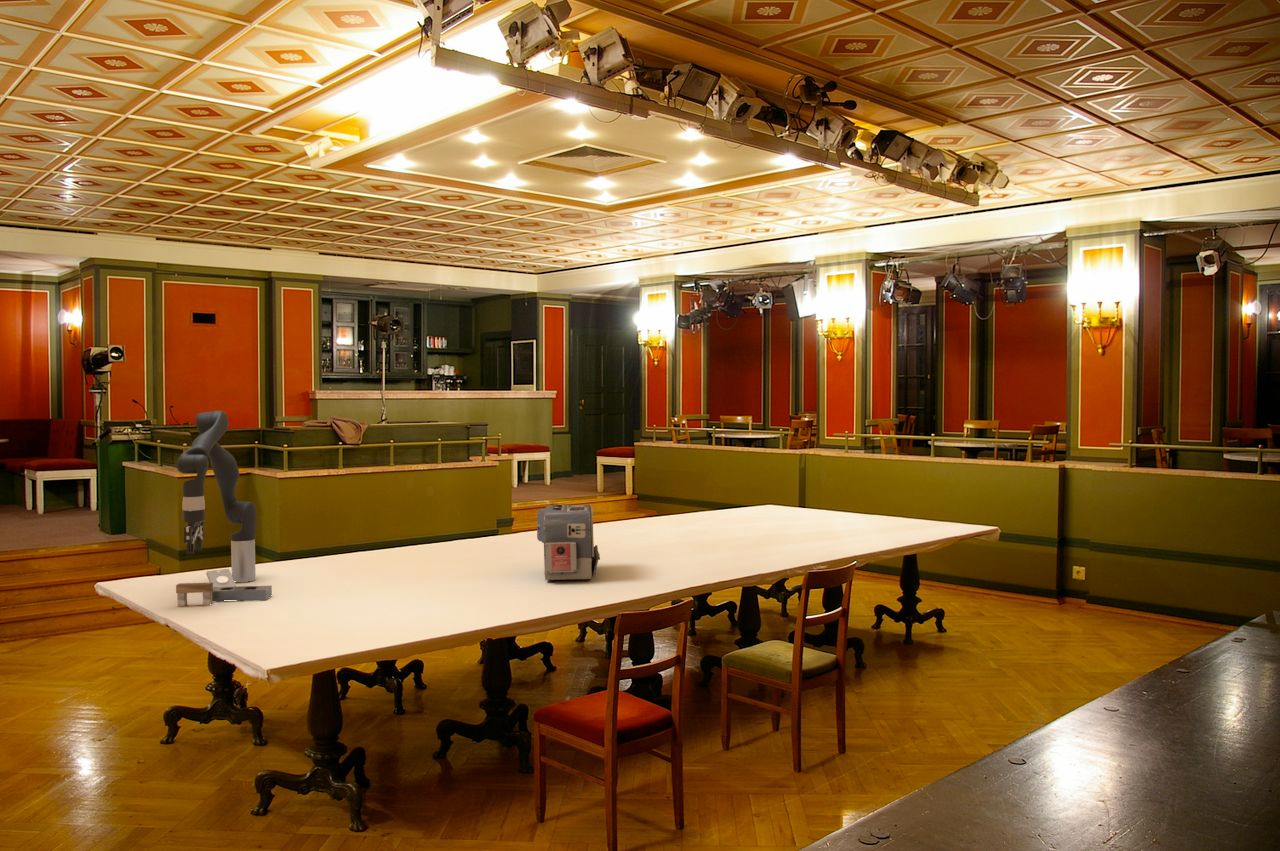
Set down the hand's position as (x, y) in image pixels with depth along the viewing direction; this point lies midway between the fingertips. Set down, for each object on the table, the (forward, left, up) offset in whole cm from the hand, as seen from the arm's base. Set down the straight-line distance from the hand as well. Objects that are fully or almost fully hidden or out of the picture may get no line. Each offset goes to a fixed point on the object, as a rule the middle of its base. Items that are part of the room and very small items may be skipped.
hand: (194, 552), depth 351 cm
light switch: (-24, +2, -20) cm, 31 cm away
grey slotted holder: (-9, +13, -20) cm, 25 cm away
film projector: (-38, +139, -20) cm, 145 cm away
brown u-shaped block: (0, 0, -20) cm, 20 cm away
